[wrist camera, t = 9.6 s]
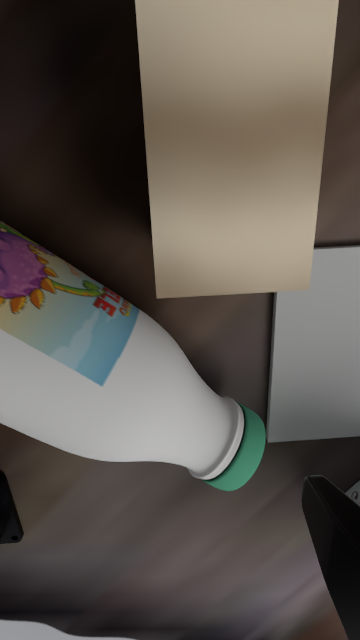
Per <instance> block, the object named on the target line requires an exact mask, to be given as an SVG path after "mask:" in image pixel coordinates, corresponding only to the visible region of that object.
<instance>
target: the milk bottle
mask: <svg viewBox="0 0 360 640" xmlns="http://www.w3.org/2000/svg"><path fill="white" fill-rule="evenodd" d="M0 423H2V424H4V425H6V426H8V427H11V428H13V429H15V430H17V431H19V432H22V433H24V434H26V435H28V436H30V437H33V438H35V439H37V440H40V441H42V442H45V443H47V444H50V445H52V446H54V447H57V448H59V449H62V450H64V451H66V452H69V453H73V454H76V455H79V456H82V457H86V458H91V459H96V460H101V461H111V462H131V461H158V462H167V463H173V464H178V465H182V466H185V467H187V468H188V470H189V472H190V474H191V475H192V476H194V477H196V478H201V479H202V480H203V481H204V482H206V483H208V484H209V485H211V486H213V487H216V488H218V489H220V490H224V491H233V490H236V489H238V488H240V487H241V486H243V485H244V484H245V483H246V482H247V481H248V480H249V479H250V478H251V477H252V475H253V474H254V472H255V471H256V469H257V467H258V465H259V463H260V461H261V458H262V455H263V452H264V447H265V438H266V435H265V427H264V424H263V421H262V420H261V418H260V417H259V416H258V415H257V414H256V413H255V412H254V411H252V410H251V409H249V408H247V407H246V406H244V405H242V404H240V403H236V402H235V401H234V400H233V399H232V398H230V397H220V396H218V395H217V394H216V393H215V392H214V391H213V390H212V389H211V388H210V387H209V386H208V385H207V384H206V383H205V382H204V381H203V380H202V378H201V377H200V376H199V375H198V373H197V372H196V371H195V369H194V368H193V366H192V365H191V363H190V362H189V360H188V359H187V357H186V356H185V354H184V353H183V351H182V350H181V348H180V347H179V346H178V344H177V343H176V342H175V340H174V339H173V338H172V337H171V336H170V334H169V333H168V332H167V331H165V330H164V329H163V328H162V327H161V326H160V325H159V324H158V323H157V322H155V321H154V320H153V319H152V318H151V317H149V316H148V315H147V314H145V313H144V312H142V311H141V310H140V309H138V308H137V307H135V306H134V305H132V304H131V303H129V302H128V301H126V300H125V299H123V298H122V297H120V296H119V295H117V294H116V293H114V292H113V291H111V290H110V289H108V288H106V287H105V286H103V285H102V284H100V283H99V282H97V281H96V280H94V279H92V278H91V277H89V276H88V275H86V274H85V273H83V272H81V271H80V270H78V269H77V268H75V267H74V266H72V265H70V264H69V263H67V262H66V261H64V260H63V259H61V258H59V257H58V256H56V255H55V254H53V253H51V252H50V251H48V250H47V249H45V248H43V247H42V246H40V245H39V244H37V243H35V242H34V241H32V240H31V239H29V238H27V237H26V236H24V235H23V234H21V233H19V232H18V231H16V230H15V229H13V228H11V227H10V226H8V225H7V224H5V223H4V222H2V221H0Z"/></svg>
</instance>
